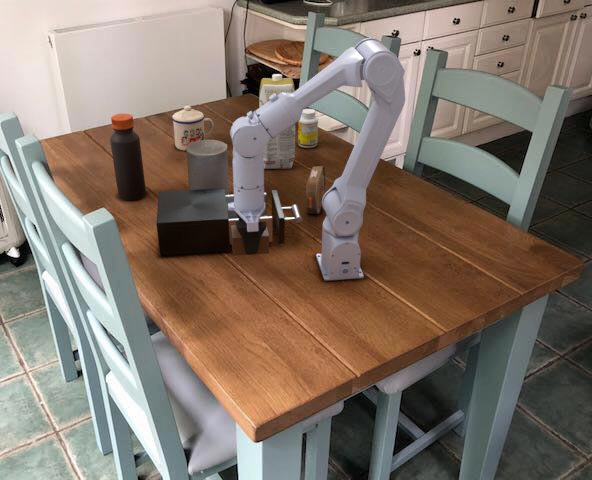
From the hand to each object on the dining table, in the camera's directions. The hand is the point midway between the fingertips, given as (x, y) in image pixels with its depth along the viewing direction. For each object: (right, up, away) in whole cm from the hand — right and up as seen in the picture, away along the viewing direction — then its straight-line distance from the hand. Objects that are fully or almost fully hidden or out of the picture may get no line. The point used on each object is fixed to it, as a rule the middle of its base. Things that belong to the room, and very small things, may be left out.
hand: (250, 245), depth 124 cm
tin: (+15, +10, +28) cm, 33 cm away
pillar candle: (-11, +12, +30) cm, 34 cm away
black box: (-13, +2, +15) cm, 20 cm away
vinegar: (-30, +13, +33) cm, 46 cm away
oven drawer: (+2, +4, +16) cm, 16 cm away
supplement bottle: (+15, +31, +59) cm, 68 cm away
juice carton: (+6, +23, +48) cm, 54 cm away
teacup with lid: (-18, +31, +60) cm, 70 cm away
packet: (0, 0, 0) cm, 0 cm away
